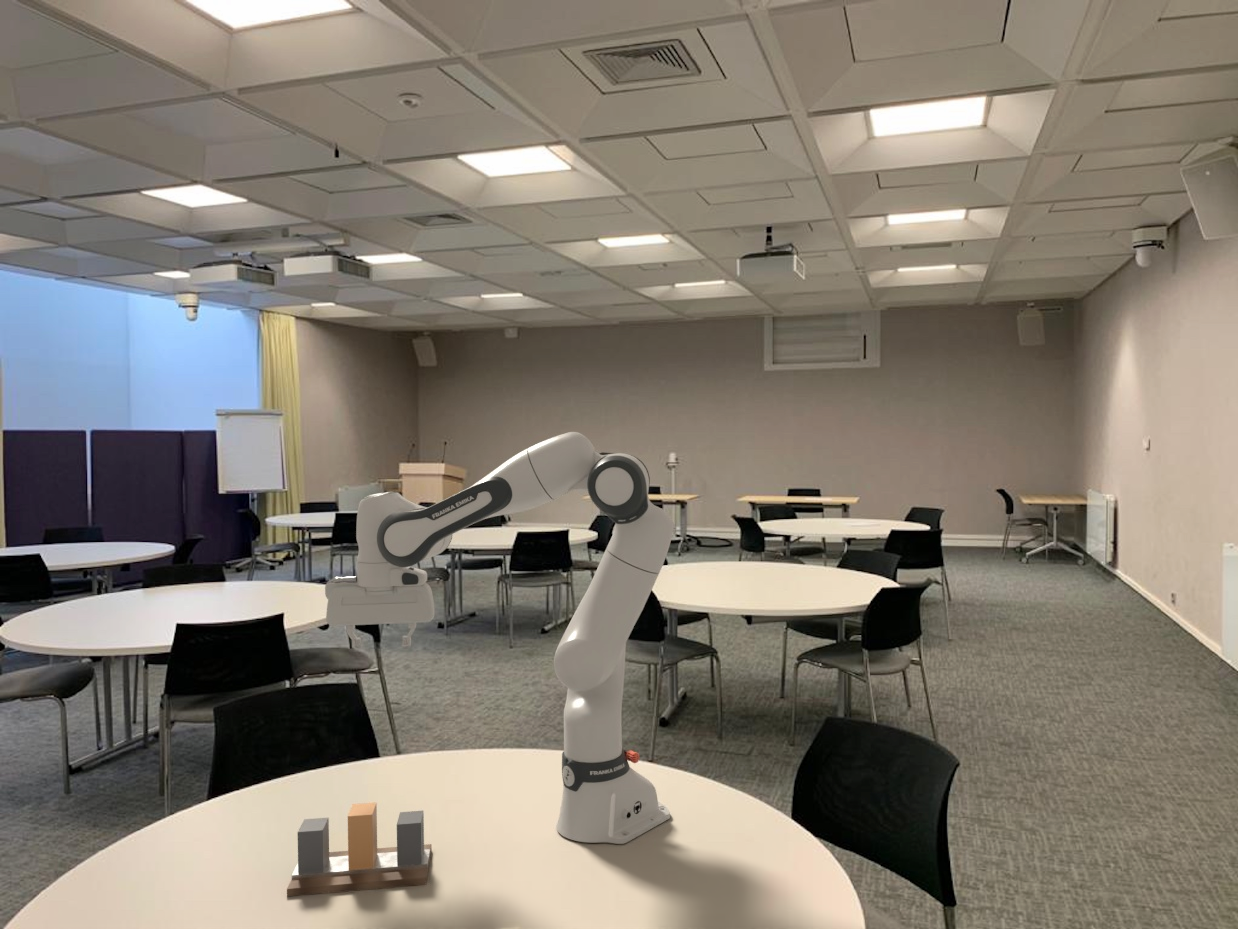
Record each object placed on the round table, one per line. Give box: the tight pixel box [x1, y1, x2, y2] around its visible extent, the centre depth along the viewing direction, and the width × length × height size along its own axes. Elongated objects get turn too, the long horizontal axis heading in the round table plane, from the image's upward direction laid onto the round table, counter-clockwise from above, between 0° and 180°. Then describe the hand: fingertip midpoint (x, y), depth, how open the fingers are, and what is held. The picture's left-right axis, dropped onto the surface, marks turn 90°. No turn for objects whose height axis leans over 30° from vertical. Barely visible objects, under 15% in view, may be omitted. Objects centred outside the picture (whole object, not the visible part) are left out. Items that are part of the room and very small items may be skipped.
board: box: [286, 843, 433, 897], centre depth 143 cm, size 22×12×1 cm, turn 98°
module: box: [347, 802, 378, 870], centre depth 143 cm, size 4×5×9 cm
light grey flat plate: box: [291, 849, 430, 879], centre depth 143 cm, size 22×6×1 cm, turn 98°
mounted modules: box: [297, 810, 425, 874], centre depth 143 cm, size 20×5×7 cm, turn 98°
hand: (381, 646), depth 163 cm, fingers open, 8 cm apart
